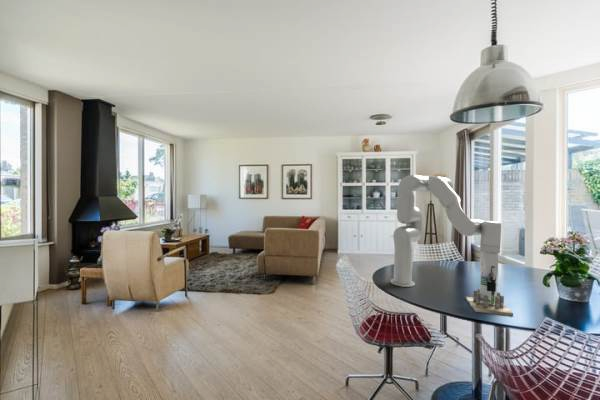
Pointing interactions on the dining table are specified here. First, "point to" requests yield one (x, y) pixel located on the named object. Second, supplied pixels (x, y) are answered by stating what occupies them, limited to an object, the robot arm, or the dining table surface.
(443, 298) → the dining table surface
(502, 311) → the pin tray
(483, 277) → the syrup box
